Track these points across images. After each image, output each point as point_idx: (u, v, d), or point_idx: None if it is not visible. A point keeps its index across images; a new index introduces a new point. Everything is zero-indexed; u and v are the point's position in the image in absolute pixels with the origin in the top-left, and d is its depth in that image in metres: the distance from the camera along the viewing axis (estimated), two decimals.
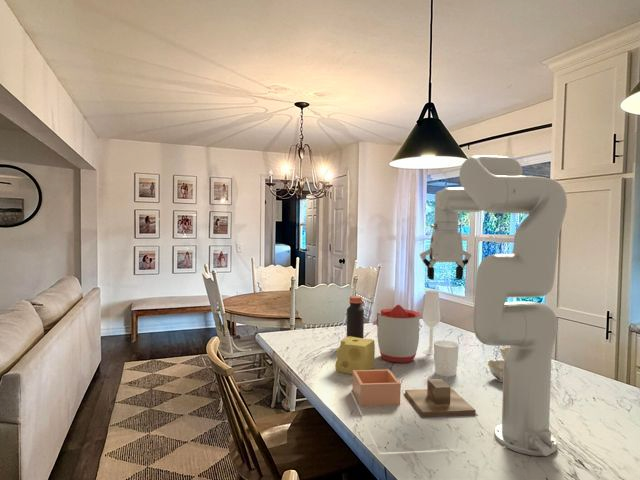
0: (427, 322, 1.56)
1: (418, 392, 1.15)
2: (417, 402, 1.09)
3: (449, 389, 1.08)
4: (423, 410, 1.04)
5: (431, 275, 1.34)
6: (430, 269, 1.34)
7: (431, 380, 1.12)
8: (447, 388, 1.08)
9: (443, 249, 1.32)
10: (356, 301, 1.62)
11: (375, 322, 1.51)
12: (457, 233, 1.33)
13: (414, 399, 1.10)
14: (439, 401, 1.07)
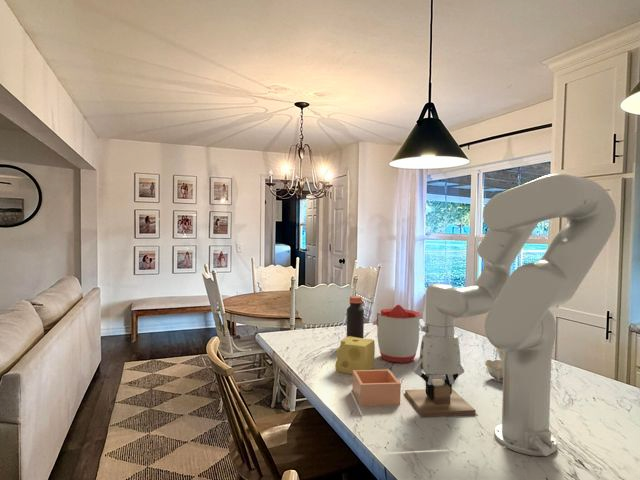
0: None
1: (418, 392, 1.15)
2: (417, 402, 1.09)
3: (449, 389, 1.08)
4: (423, 410, 1.04)
5: (430, 394, 1.09)
6: (429, 386, 1.09)
7: None
8: (447, 388, 1.08)
9: (436, 359, 1.07)
10: (356, 301, 1.62)
11: (375, 322, 1.51)
12: (453, 339, 1.08)
13: (414, 399, 1.10)
14: (439, 401, 1.07)
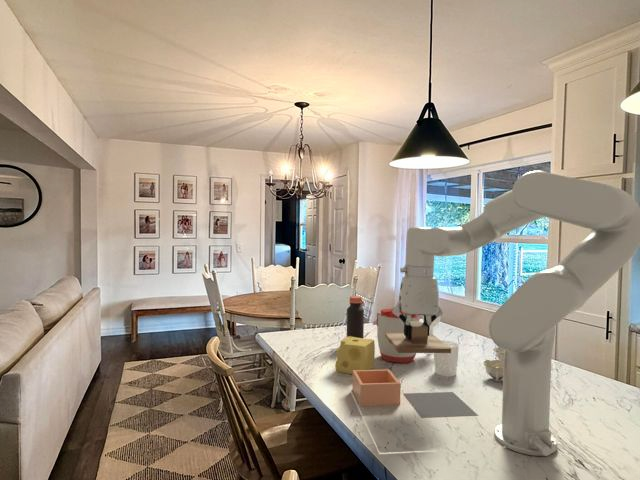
0: None
1: (397, 335, 1.17)
2: (395, 341, 1.10)
3: (426, 329, 1.09)
4: (399, 347, 1.05)
5: (408, 334, 1.11)
6: (407, 327, 1.11)
7: (410, 322, 1.14)
8: (425, 328, 1.09)
9: (414, 299, 1.08)
10: (356, 301, 1.62)
11: (375, 322, 1.51)
12: (432, 280, 1.09)
13: (392, 339, 1.12)
14: (416, 340, 1.09)
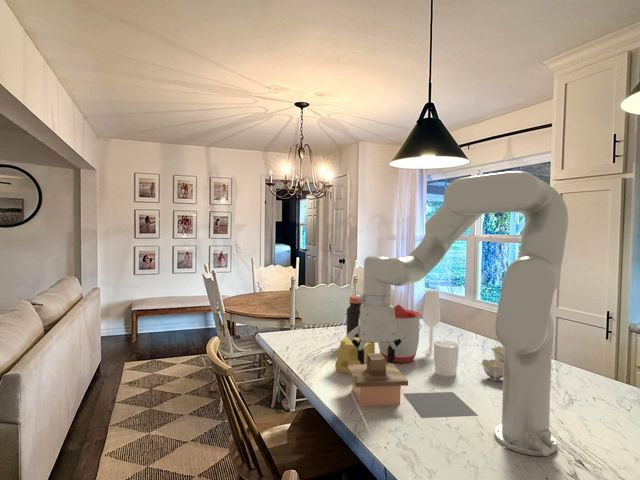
0: (427, 322, 1.56)
1: (359, 366, 1.19)
2: (355, 374, 1.13)
3: (385, 362, 1.12)
4: (357, 381, 1.08)
5: (361, 359, 1.13)
6: (360, 352, 1.13)
7: (370, 354, 1.16)
8: (383, 360, 1.12)
9: (372, 327, 1.11)
10: (356, 301, 1.62)
11: None
12: (389, 308, 1.12)
13: (352, 372, 1.14)
14: (375, 373, 1.12)
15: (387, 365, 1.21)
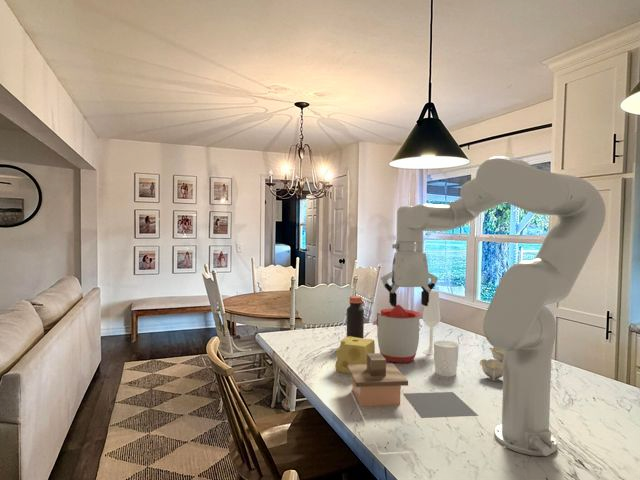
0: (427, 322, 1.56)
1: (359, 366, 1.19)
2: (355, 374, 1.13)
3: (385, 362, 1.12)
4: (357, 381, 1.08)
5: (393, 302, 1.19)
6: (392, 295, 1.19)
7: (370, 354, 1.16)
8: (383, 360, 1.12)
9: (406, 272, 1.17)
10: (356, 301, 1.62)
11: (375, 322, 1.51)
12: (422, 254, 1.18)
13: (352, 372, 1.14)
14: (375, 373, 1.12)
15: (387, 365, 1.21)
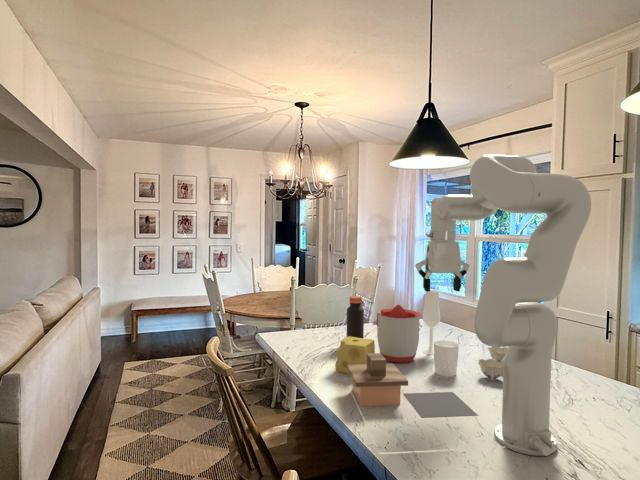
0: (427, 322, 1.56)
1: (359, 366, 1.19)
2: (355, 374, 1.13)
3: (385, 362, 1.12)
4: (357, 381, 1.08)
5: (427, 287, 1.27)
6: (426, 280, 1.27)
7: (370, 354, 1.16)
8: (383, 360, 1.12)
9: (440, 259, 1.25)
10: (356, 301, 1.62)
11: (375, 322, 1.51)
12: (454, 242, 1.26)
13: (352, 372, 1.14)
14: (375, 373, 1.12)
15: (387, 365, 1.21)
